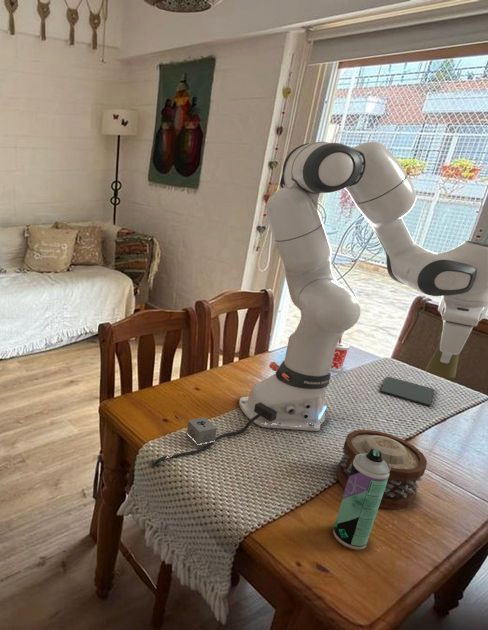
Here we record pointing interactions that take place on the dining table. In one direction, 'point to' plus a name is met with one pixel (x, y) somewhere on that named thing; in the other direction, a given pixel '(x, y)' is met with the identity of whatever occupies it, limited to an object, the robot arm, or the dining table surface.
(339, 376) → the dining table surface
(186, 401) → the dining table surface
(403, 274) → the robot arm
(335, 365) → the beverage cup
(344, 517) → the spray can
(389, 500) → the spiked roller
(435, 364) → the olive tapered cylinder
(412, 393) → the plate
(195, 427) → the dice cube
